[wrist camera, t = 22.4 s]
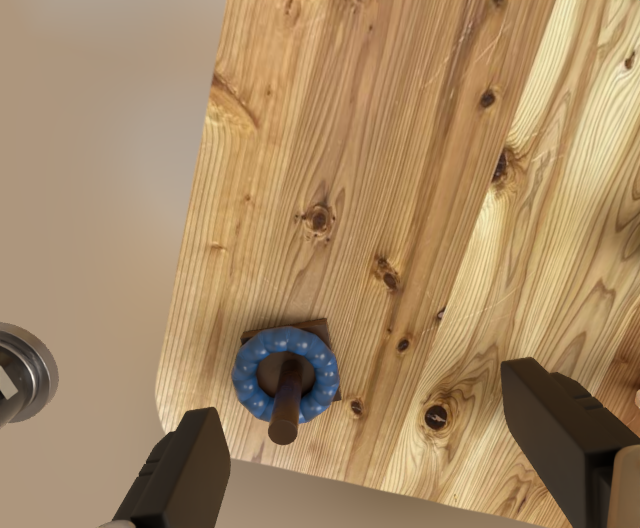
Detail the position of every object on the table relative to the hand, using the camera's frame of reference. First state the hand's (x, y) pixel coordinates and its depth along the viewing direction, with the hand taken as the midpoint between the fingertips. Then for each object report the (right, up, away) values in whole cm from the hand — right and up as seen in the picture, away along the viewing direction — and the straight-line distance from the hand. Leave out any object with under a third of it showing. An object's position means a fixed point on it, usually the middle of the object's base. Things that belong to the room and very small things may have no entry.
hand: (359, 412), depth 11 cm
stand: (-4, -7, +33) cm, 34 cm away
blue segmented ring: (-5, -7, +30) cm, 32 cm away
